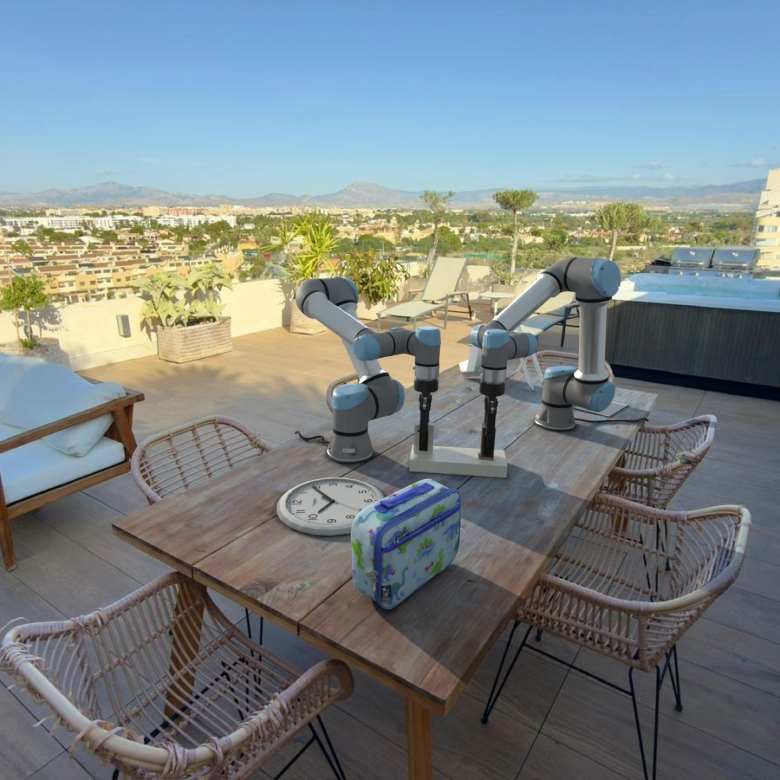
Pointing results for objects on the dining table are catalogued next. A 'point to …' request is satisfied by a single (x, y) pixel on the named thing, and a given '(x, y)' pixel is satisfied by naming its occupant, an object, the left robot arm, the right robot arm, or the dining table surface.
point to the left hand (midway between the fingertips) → (423, 448)
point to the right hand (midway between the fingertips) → (487, 451)
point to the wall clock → (326, 505)
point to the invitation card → (608, 409)
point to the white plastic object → (475, 361)
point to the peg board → (454, 459)
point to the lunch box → (405, 541)
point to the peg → (483, 442)
